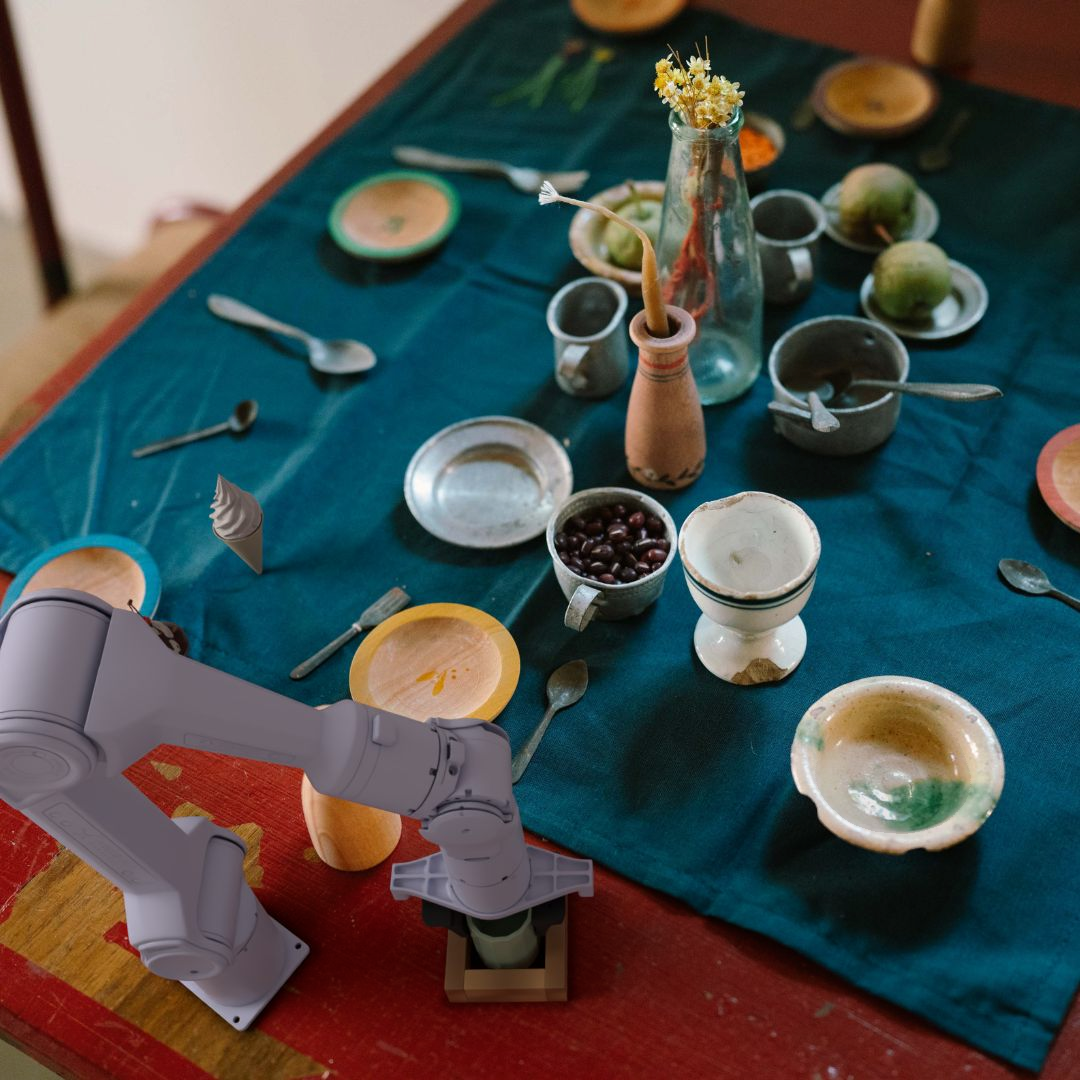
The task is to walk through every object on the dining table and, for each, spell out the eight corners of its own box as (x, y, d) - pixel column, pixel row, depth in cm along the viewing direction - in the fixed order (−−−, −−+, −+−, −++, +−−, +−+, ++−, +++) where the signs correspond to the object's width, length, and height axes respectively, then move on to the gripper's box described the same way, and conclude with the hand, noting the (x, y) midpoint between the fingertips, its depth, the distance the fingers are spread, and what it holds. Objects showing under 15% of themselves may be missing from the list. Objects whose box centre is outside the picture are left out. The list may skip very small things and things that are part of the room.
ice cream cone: (274, 594, 119) (232, 496, 107) (228, 588, 120) (182, 490, 108) (290, 556, 122) (252, 456, 110) (246, 551, 123) (202, 452, 111)
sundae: (190, 669, 114) (137, 575, 102) (235, 705, 111) (185, 611, 99) (137, 717, 111) (75, 624, 99) (181, 754, 108) (123, 663, 96)
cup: (463, 951, 93) (450, 917, 88) (503, 898, 96) (493, 861, 90) (515, 988, 91) (505, 955, 86) (554, 933, 94) (547, 897, 88)
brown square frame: (449, 1002, 91) (444, 989, 89) (457, 889, 97) (451, 874, 95) (567, 1001, 90) (564, 988, 88) (567, 887, 96) (565, 872, 94)
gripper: (588, 792, 82) (597, 873, 93) (385, 797, 83) (416, 876, 94) (589, 888, 78) (598, 962, 88) (374, 892, 79) (408, 964, 89)
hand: (504, 924), depth 91 cm, fingers closed on cup, 5 cm apart
